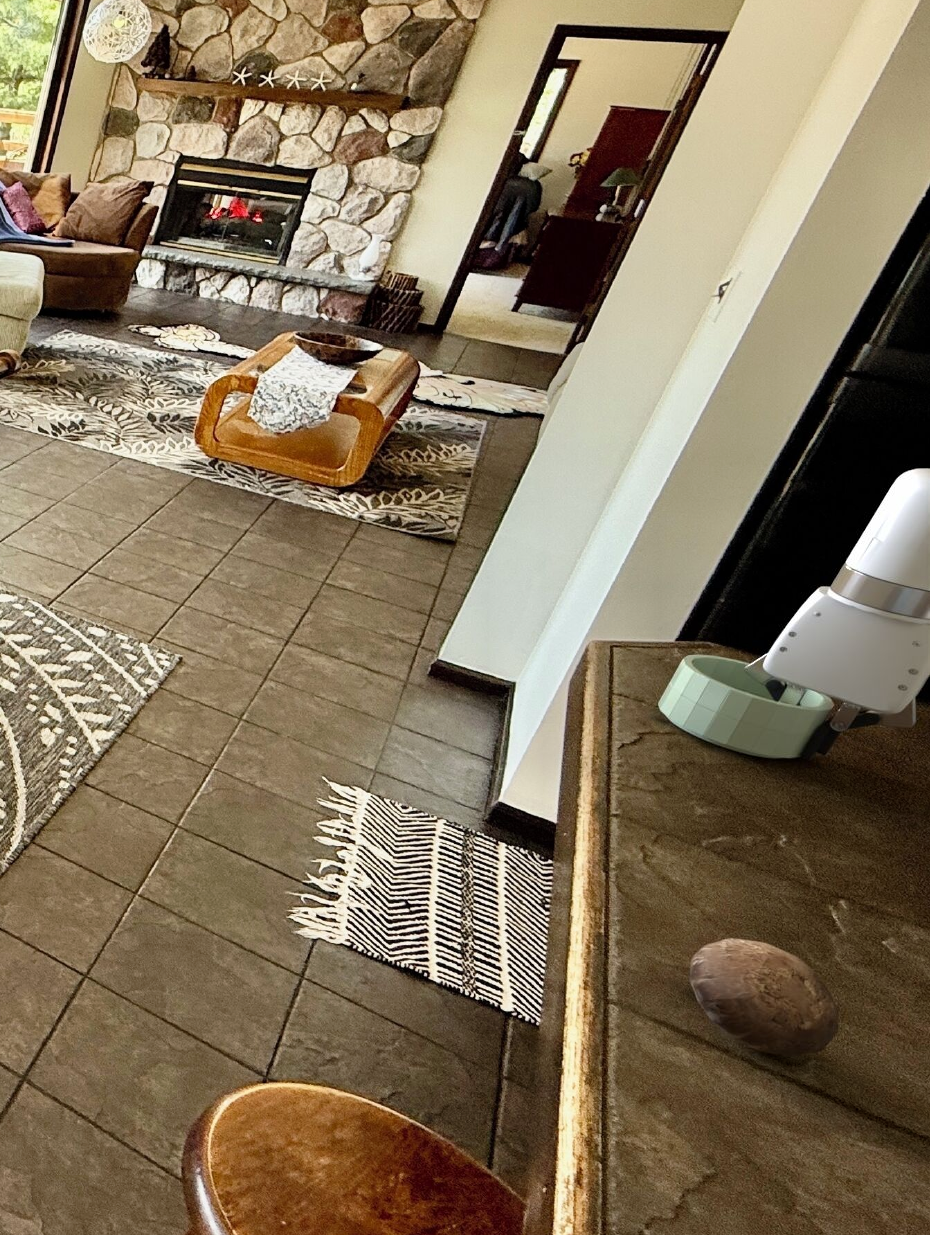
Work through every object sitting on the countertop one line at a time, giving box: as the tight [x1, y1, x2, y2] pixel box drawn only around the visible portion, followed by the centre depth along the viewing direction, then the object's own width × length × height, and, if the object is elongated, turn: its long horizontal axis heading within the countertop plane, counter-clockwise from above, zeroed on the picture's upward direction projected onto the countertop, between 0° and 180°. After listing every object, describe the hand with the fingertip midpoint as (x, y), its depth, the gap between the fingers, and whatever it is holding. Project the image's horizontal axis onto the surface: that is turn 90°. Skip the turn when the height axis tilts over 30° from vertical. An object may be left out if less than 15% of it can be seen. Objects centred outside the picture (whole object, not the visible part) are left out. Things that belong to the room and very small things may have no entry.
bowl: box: [657, 654, 835, 759], centre depth 112 cm, size 11×11×6 cm
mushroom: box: [689, 937, 839, 1057], centre depth 73 cm, size 8×8×6 cm
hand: (791, 748), depth 109 cm, fingers closed on bowl
